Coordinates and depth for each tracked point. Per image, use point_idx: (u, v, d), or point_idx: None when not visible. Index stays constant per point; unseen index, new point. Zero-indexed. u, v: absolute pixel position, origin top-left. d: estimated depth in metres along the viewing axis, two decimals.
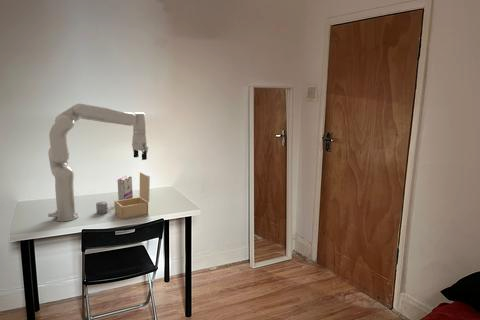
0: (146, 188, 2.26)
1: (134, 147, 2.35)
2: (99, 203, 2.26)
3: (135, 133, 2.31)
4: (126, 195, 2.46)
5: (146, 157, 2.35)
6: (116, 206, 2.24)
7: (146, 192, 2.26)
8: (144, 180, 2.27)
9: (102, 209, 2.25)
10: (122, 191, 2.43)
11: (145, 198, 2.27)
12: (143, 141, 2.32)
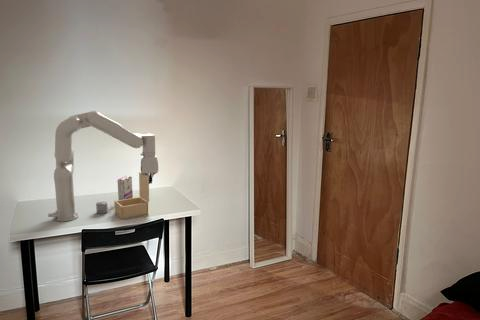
0: (146, 188, 2.25)
1: (148, 171, 2.26)
2: (99, 203, 2.26)
3: (153, 156, 2.25)
4: (126, 195, 2.46)
5: None
6: (116, 206, 2.24)
7: (146, 192, 2.26)
8: (143, 180, 2.27)
9: (102, 209, 2.25)
10: (122, 191, 2.43)
11: (145, 198, 2.27)
12: None
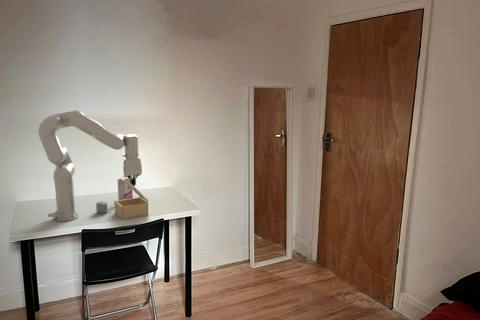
0: (138, 192, 2.23)
1: (131, 173, 2.19)
2: (99, 203, 2.26)
3: (136, 157, 2.18)
4: (126, 195, 2.46)
5: None
6: (116, 206, 2.24)
7: (140, 195, 2.24)
8: (131, 186, 2.23)
9: (102, 209, 2.25)
10: (122, 191, 2.43)
11: (144, 199, 2.27)
12: None
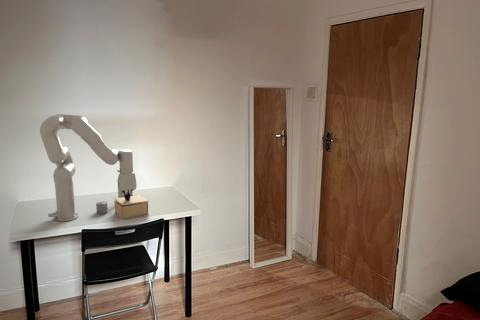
0: None
1: (125, 188, 2.18)
2: (99, 203, 2.26)
3: (130, 172, 2.18)
4: None
5: None
6: (116, 206, 2.24)
7: None
8: None
9: (102, 209, 2.25)
10: None
11: None
12: None
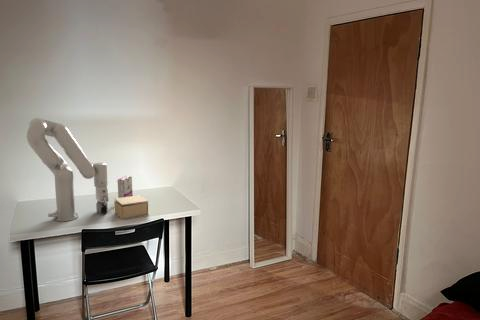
0: None
1: None
2: (99, 203, 2.26)
3: None
4: (126, 195, 2.46)
5: None
6: (116, 206, 2.24)
7: None
8: None
9: None
10: (122, 191, 2.43)
11: None
12: None
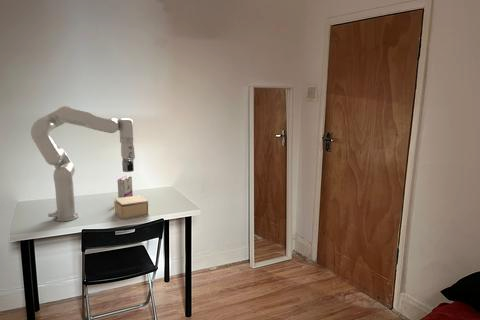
0: None
1: None
2: (125, 161, 2.20)
3: None
4: (126, 195, 2.46)
5: None
6: (116, 206, 2.24)
7: None
8: None
9: None
10: (122, 191, 2.43)
11: None
12: None
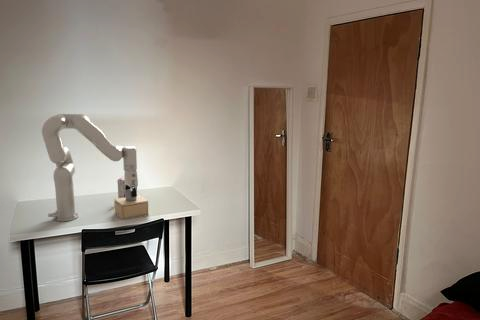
0: None
1: None
2: (128, 190, 2.24)
3: None
4: None
5: None
6: (116, 206, 2.24)
7: None
8: None
9: None
10: (122, 191, 2.43)
11: None
12: None
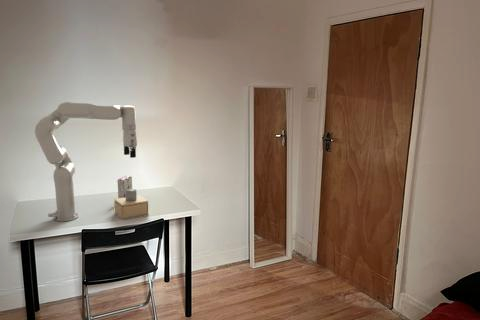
0: None
1: None
2: (128, 190, 2.23)
3: None
4: None
5: (124, 152, 2.22)
6: (116, 206, 2.24)
7: None
8: None
9: (132, 196, 2.22)
10: (122, 191, 2.43)
11: None
12: None
